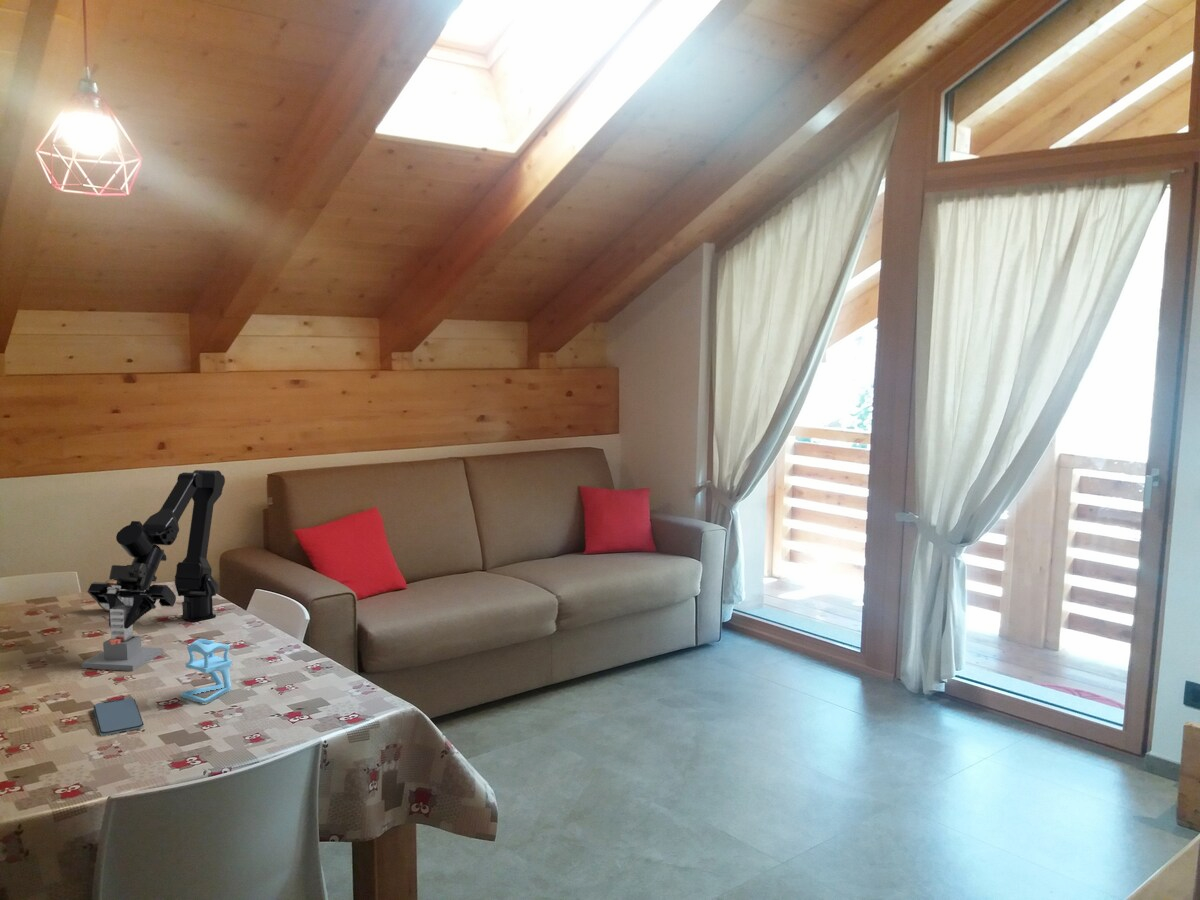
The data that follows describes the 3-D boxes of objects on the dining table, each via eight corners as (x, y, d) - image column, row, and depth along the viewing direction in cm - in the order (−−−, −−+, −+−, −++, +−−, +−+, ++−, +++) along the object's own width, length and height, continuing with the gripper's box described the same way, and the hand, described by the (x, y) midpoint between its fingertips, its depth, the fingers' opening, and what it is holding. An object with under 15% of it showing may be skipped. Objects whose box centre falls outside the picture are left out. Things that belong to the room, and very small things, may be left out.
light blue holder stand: (239, 692, 197) (237, 637, 195) (204, 705, 190) (203, 647, 188) (215, 685, 201) (213, 630, 199) (180, 697, 194) (178, 640, 192)
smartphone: (99, 733, 174) (92, 703, 186) (100, 741, 174) (92, 711, 187) (144, 724, 178) (134, 696, 190) (145, 733, 178) (134, 703, 191)
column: (120, 649, 216) (118, 604, 215) (134, 649, 216) (132, 605, 214) (110, 654, 212) (108, 609, 211) (124, 655, 212) (122, 610, 211)
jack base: (114, 650, 221) (113, 626, 220) (162, 652, 220) (161, 628, 219) (81, 668, 209) (80, 643, 208) (132, 670, 208) (131, 645, 207)
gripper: (89, 548, 216) (61, 608, 207) (167, 551, 214) (141, 612, 205) (112, 572, 225) (85, 631, 215) (186, 575, 223) (163, 635, 214)
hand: (118, 627), depth 212 cm, fingers closed on column, 3 cm apart
